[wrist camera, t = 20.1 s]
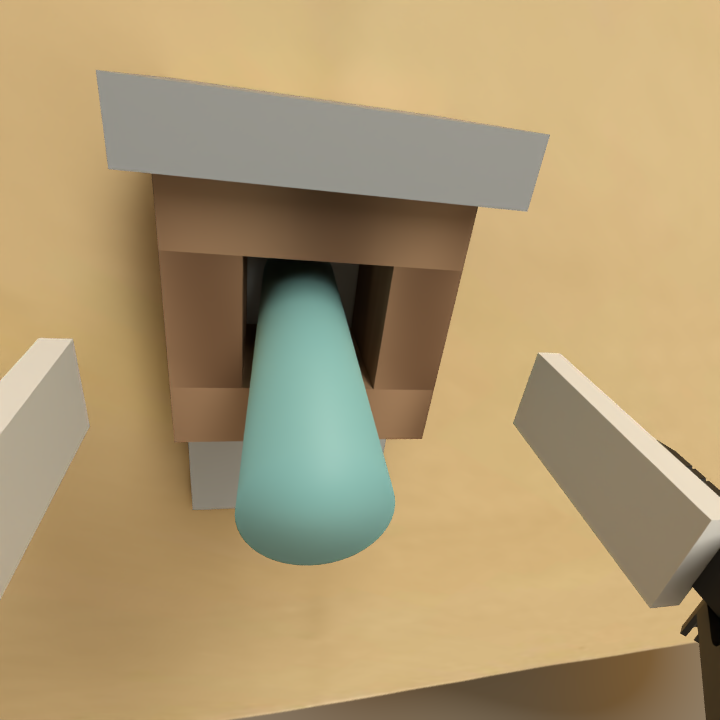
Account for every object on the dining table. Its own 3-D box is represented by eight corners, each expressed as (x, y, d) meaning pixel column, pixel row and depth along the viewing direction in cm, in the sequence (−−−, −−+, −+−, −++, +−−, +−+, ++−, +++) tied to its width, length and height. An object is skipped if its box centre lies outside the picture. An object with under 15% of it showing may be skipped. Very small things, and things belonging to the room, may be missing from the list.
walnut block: (193, 368, 22) (174, 442, 18) (180, 142, 18) (150, 162, 13) (391, 372, 25) (421, 438, 20) (429, 171, 20) (480, 197, 15)
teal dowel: (263, 239, 20) (234, 450, 8) (336, 245, 21) (407, 451, 9) (262, 307, 22) (234, 568, 10) (330, 311, 22) (382, 562, 10)
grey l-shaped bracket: (195, 494, 28) (169, 649, 21) (169, 77, 18) (96, 70, 10) (370, 488, 31) (406, 624, 23) (439, 116, 20) (549, 134, 12)
